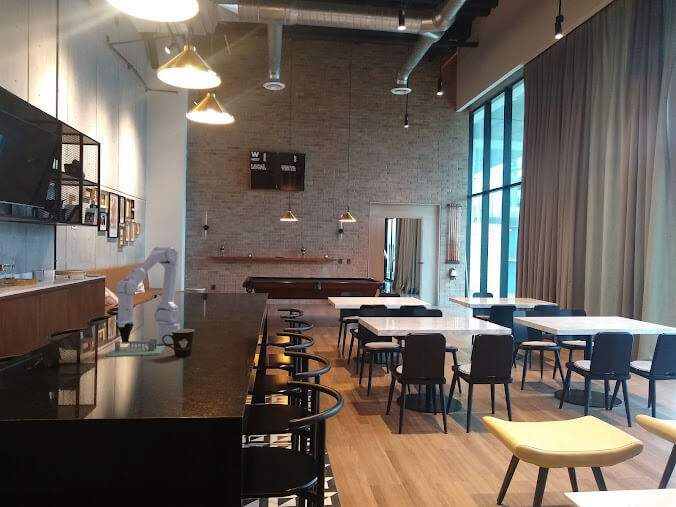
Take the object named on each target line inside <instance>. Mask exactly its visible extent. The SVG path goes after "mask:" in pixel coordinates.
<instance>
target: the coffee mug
mask: <svg viewBox="0 0 676 507" xmlns="http://www.w3.org/2000/svg"><path fill="white" fill-rule="evenodd" d="M194 334H195V329H192V328H180V329H177V330H173V331H172V335H169V334H167V335H164V336H163V338H162V341H163V343H164V344H163V345H164V346H166V347H168V348H170V349H172V350H173V351H174V357H176V358H187V357H190V356H192V353H193V352H192V351H193V344H194V336H195V335H194ZM165 336H170V337H171V338H172V340H173V344H172V345H173V346H171V344H166V343H165V342H164V340H163V339H164V337H165Z"/></svg>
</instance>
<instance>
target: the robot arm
mask: <svg viewBox="0 0 676 507" xmlns="http://www.w3.org/2000/svg"><path fill="white" fill-rule="evenodd" d="M178 255H179V252H178V251H177V250H176V248H175V247H173V246H170V247H168V246H165V247H164V246H163V247H162V246H155V247H153V249H152V250H151V251H150V254H149V256H148V257H147V258H146V259H145V260H144V262H142V263H141V265H140V266H139V267H135V268H132V269H131V272H130V273H128V275H127V276H125V277H124V279H121V280H120V281H118V282H117V284H116V285H115V287H114V290H115V292H116V294H117V295H116V296H117V300H118V302H117V303H118V304H117V305H118V306H117V319H114V323H118V324H117V329H118V331H119V334H120V339H121V342H128V341H130V337H131V336H130V335H131V332H132V329H133V327H134V326H135V325H134V323H133V322H135V321H134V294H135V293H137V290H138V287H139V285H140V284H141V282H142V281H143V280H144V279H145V278H146V277H147V272H149V271H150V270H151V269H152V268H153V267H154V266H155V265H156V264H158V263H159V264H161V265H162V267H163V268H164V274H163V284H162V291H161V292H162V293H161V302H160V303H158V304H157V305H156V310H155V312H154V316H153V318H154V320H155V321H156V324H157V328H158V329H157V340H158V341H157V343H156V345H165V344H164V343H163V341H162V338H163V336H164V335H167V334H169V335H172V331H173V330H177V329H181V328H180V327H181V325H180V323H177V321H178V320H179V317H180V315H179V314H180V313H179V307H178V305H177V304H175V295H176V286H177V284H176V283H177V275H178V267H179V266H178V258H179V256H178ZM163 340H164V342H165V343H166V344H168V345H174V344H173V340H172V338H171V337H170V336H165V337H164V339H163Z"/></svg>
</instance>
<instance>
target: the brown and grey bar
mask: <svg viewBox="0 0 676 507" xmlns="http://www.w3.org/2000/svg"><path fill="white" fill-rule="evenodd" d="M148 341H149V340H129V341H128V342H122V341H120V345H121V344H122V345H129V344H147V345H148ZM151 341H155V340H151Z"/></svg>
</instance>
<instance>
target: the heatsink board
mask: <svg viewBox="0 0 676 507" xmlns="http://www.w3.org/2000/svg"><path fill="white" fill-rule="evenodd" d="M151 340H155V341H151ZM157 340H158V338H150V340H147V341H148V344H127V346H121V340H116V341H115V342H114V348H113V349H112V350H111V351H109V352H107V354H106V357H108V358H109V357H111V358H112V357H113V356H114V357H135V356H137V357H139V356H141V355H143V356H160V355H161V354H162V353H163V351H164V350H165V349H166V345H157V344H156V343H157V342H158V341H157ZM141 357H142V356H141Z"/></svg>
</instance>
